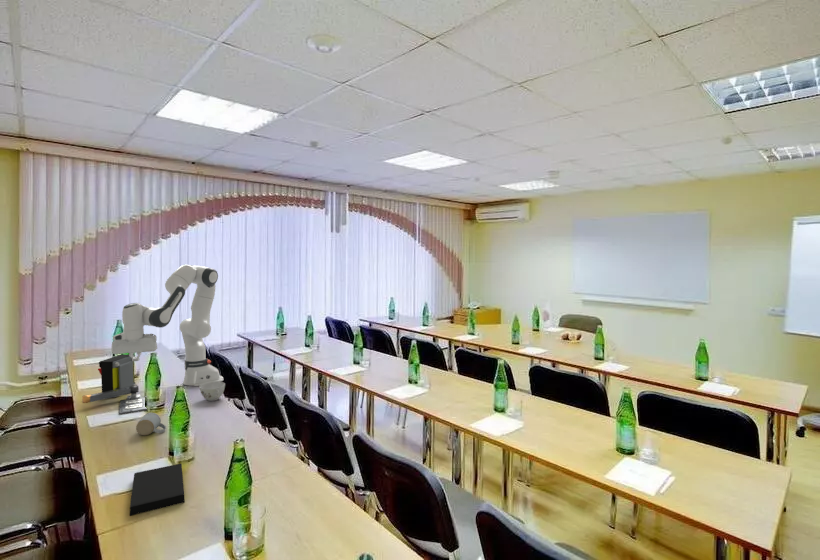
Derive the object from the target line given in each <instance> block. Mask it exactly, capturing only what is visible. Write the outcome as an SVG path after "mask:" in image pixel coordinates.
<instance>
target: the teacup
mask: <svg viewBox="0 0 820 560" xmlns="http://www.w3.org/2000/svg"><path fill="white" fill-rule="evenodd" d="M225 388H226V383H225V382H223V381H221V382H211V383H206V384H203V385H201V386H199V391H200V395H202V397H203V398H204V399H205V400H206V401H207V402H215V401H217V400H219V398H221V396H222V395H223V394H224V392H225Z"/></svg>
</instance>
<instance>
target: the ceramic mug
mask: <svg viewBox="0 0 820 560" xmlns="http://www.w3.org/2000/svg"><path fill="white" fill-rule="evenodd" d="M159 428H161V429H159ZM166 429H167V426H166V425H165V424H163V423H162V419H161V417H160V415H159V414H157V413H155V412H148V413H145V414H144V415H143V416H142V417H141V418H140V420H138V422H137V424H136V426H135V431H136V432H137V434H139V435H140V436H149V435H151V434H152V433H156V434H157V433H158V434H163V433H164V432H165V431H166Z"/></svg>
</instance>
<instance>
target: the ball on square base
mask: <svg viewBox="0 0 820 560" xmlns="http://www.w3.org/2000/svg"><path fill="white" fill-rule="evenodd" d="M140 397H141V394H140V393H139V394H137V393H131V394H129V395H127V396H126V399H133V398H140Z"/></svg>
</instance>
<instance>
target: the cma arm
mask: <svg viewBox="0 0 820 560" xmlns="http://www.w3.org/2000/svg"><path fill="white" fill-rule="evenodd" d="M131 393H136V394H137V393H139V385H137V386H130V387H126V388H121V389H116V390H111V391H106V392H102V391H101V392H98V393H93V394H85V395H82V397H81V398H82V399H81V400H82V401H81V402H82V404H88V403H92V402H97V401H103V400H107V399H113V398H112V397H115V398H116V397H120V396H126V395H131Z"/></svg>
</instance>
